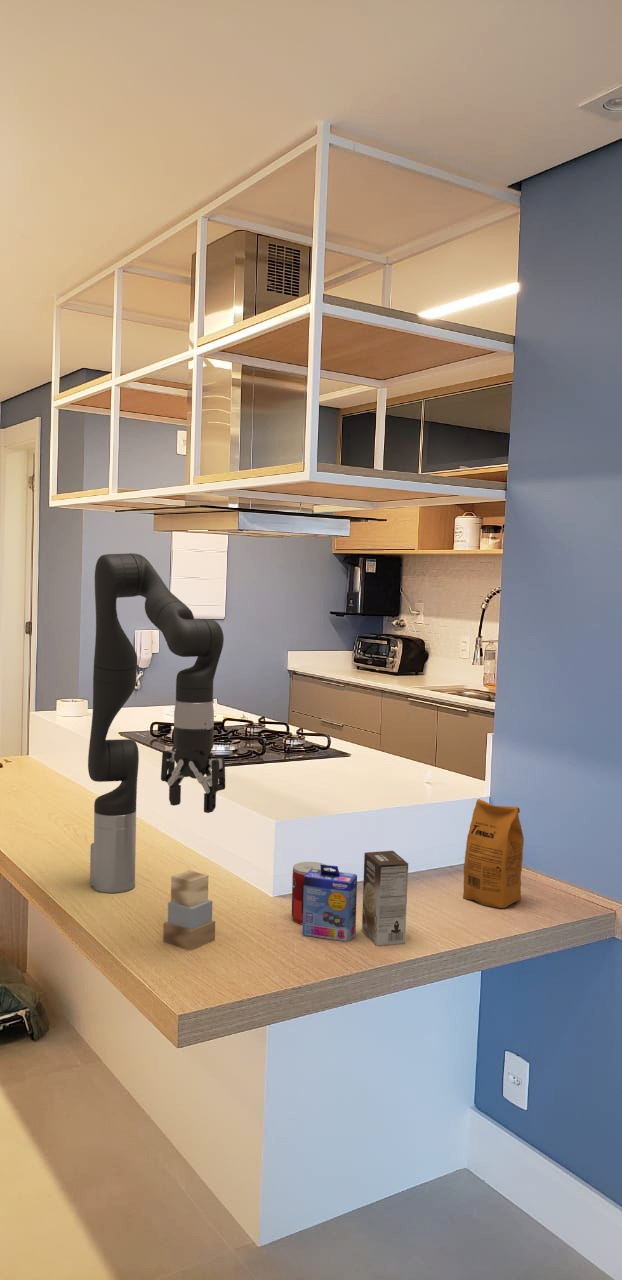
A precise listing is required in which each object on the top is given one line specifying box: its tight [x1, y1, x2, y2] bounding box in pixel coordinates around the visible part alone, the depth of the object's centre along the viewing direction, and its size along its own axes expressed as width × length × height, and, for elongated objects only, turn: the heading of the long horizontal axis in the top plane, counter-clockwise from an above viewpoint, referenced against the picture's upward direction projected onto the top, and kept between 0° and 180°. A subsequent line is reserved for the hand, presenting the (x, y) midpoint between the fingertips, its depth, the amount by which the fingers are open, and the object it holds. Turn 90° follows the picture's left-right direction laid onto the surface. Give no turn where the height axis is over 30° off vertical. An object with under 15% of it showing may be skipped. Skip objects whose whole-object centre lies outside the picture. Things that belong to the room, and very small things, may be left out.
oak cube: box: [170, 870, 209, 907], centre depth 192 cm, size 5×5×5 cm
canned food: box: [291, 861, 331, 925], centre depth 206 cm, size 8×8×11 cm
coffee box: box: [361, 850, 409, 946], centre depth 197 cm, size 9×6×16 cm
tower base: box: [162, 919, 216, 951], centre depth 192 cm, size 7×7×4 cm
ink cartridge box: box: [301, 864, 358, 942], centre depth 197 cm, size 10×6×14 cm, turn 73°
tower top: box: [167, 899, 213, 930], centre depth 192 cm, size 6×6×4 cm
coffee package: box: [462, 798, 525, 909], centre depth 221 cm, size 10×12×22 cm
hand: (192, 808), depth 190 cm, fingers open, 8 cm apart
